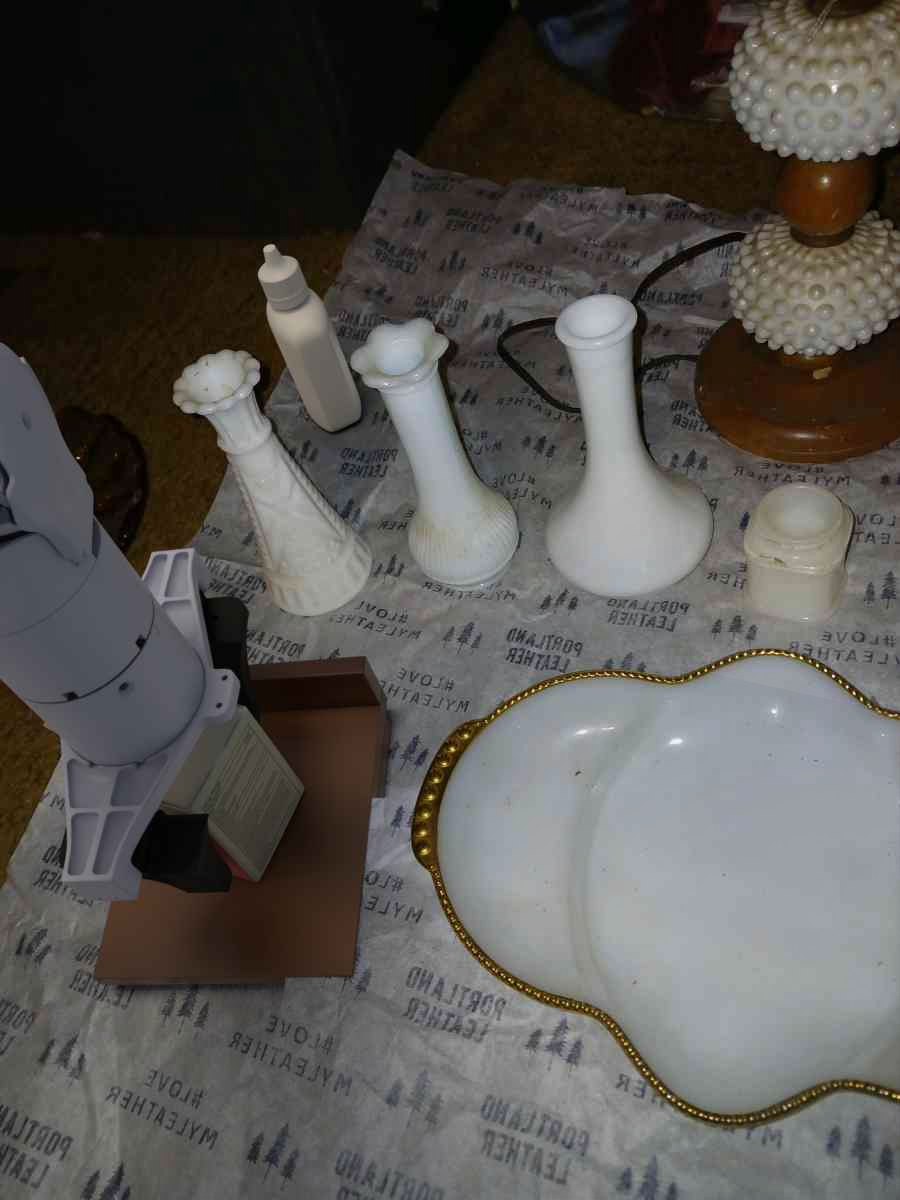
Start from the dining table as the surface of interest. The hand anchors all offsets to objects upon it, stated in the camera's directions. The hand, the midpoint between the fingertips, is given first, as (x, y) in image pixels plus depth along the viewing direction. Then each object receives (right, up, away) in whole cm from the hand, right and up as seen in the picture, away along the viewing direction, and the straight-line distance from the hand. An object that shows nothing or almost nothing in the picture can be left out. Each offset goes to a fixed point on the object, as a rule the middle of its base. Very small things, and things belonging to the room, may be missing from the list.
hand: (225, 802), depth 48 cm
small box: (+1, -1, +2) cm, 3 cm away
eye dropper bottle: (+3, +22, +21) cm, 30 cm away
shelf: (+1, -3, +4) cm, 4 cm away
